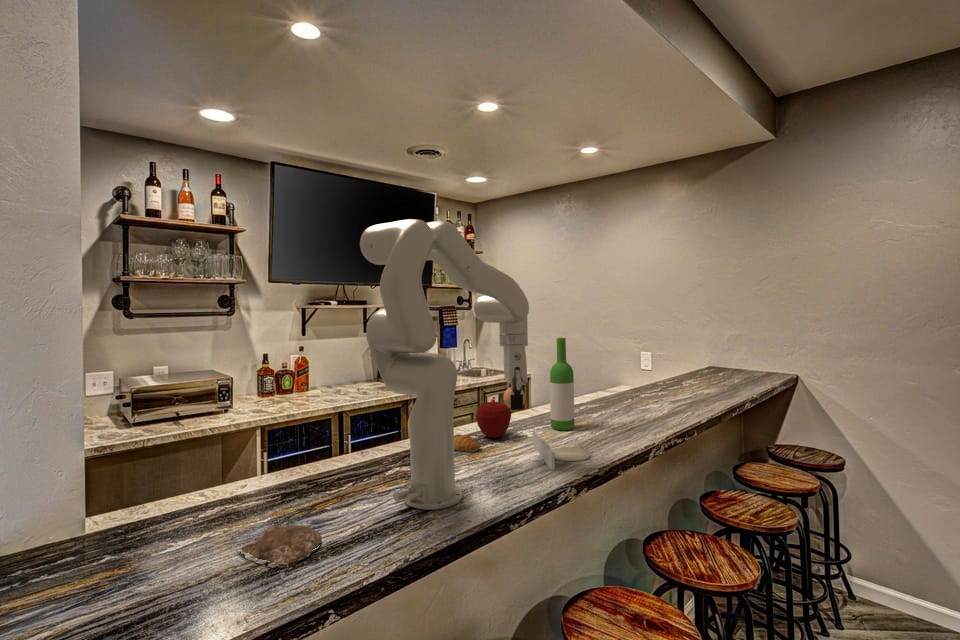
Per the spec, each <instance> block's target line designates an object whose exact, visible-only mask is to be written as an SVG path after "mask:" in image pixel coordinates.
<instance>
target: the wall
mask: <svg viewBox="0 0 960 640" xmlns="http://www.w3.org/2000/svg"><path fill="white" fill-rule="evenodd" d="M532 446H533V447H534V449H535V450H536V451H537V452H538V453H539V455H540V457H541V458H542V459H543V461H544V462H545V463H546V465H547V467H548V468H550V471H555V469H556V465H555V464H556V463H555V462H556V461H555V460H556V459H555V458H554V451H553V450H552V449H553V448H551V446H549V444H548V443H547V441H546V440H545V439H544V438H543V437H542V436H541V435H540V433H539V432H538V431H537V430H536V429H532Z"/></svg>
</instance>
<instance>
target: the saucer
mask: <svg viewBox="0 0 960 640" xmlns="http://www.w3.org/2000/svg"><path fill="white" fill-rule="evenodd" d="M551 449H552V450H553V451H554V458H555V460H557V461H560V462H571V463H572V462H584V461H586V459H587V460H588V458H589V457H591V452H590V451H588V449H587V450H586V449H584V448H580V447H574V446H562V447H561V446H560V447H556V448H551ZM589 459H590V458H589Z"/></svg>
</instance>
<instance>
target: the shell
mask: <svg viewBox="0 0 960 640" xmlns="http://www.w3.org/2000/svg"><path fill="white" fill-rule="evenodd" d="M322 538H323V537H322V535H321V533H320V532H319V531H318V530H315V529H314V528H312V527H310V526H306V525H303V524H301V525H296V524H290V525H283V526H281V525H279V526H278V525H273V526H270V527H269V528H268V529H266V530H265V532H264V533H263V535H261V536H260V537H259V538H257V539H256V540H254V541H253V542H251V543H248V544H246V545H244V547H243V546H241V547H242V548H241V547H240V548H241V549H242V550H243V551H244V552H246V553H249V554H251V555H253V556H254V557H255V558H257V559H262V560H267V561H270V562H274V563H275V564H276V563H278V564H284V565H285V564H288V563H290V562H294V561H296V560H298V559H300V558H302V557H304V556H306V555H308V554H309V553H311V551H312V550H313V549H315V548H317V547H318V546H319V545H320V543H321V544H322V540H323V539H322ZM320 546H321V545H320ZM311 554H312V553H311Z"/></svg>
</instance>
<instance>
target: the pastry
mask: <svg viewBox="0 0 960 640" xmlns="http://www.w3.org/2000/svg"><path fill="white" fill-rule="evenodd" d="M480 448H481V443H479V441H478V440H477V439H475V438H473V437H472V436H471V435H467V434H464V435H463V434H460V433H457V434H454V451H457V452H463V453H475V452H477V451H479V450H480Z"/></svg>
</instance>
